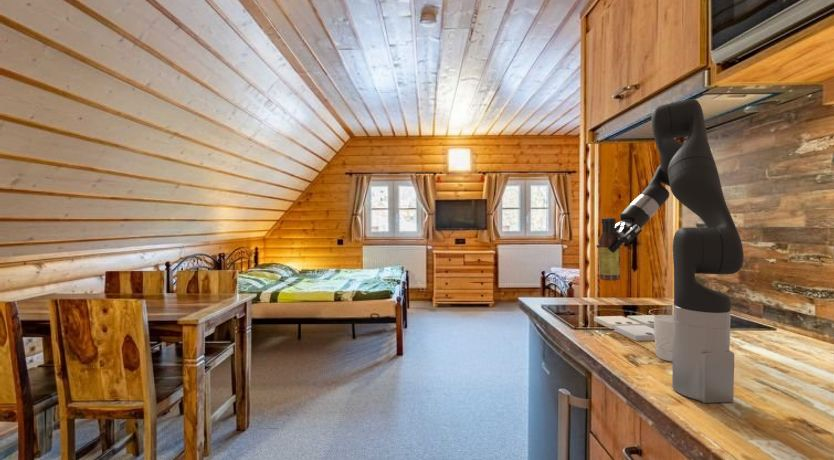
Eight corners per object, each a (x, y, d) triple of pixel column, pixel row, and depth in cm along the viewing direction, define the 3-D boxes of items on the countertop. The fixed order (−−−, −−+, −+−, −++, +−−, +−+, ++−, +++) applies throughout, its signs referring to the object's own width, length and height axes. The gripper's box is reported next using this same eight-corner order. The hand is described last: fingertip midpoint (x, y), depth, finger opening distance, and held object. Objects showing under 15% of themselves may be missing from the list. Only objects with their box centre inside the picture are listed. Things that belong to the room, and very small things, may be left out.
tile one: (667, 339, 113) (668, 333, 113) (635, 340, 113) (635, 334, 112) (644, 330, 123) (644, 324, 123) (614, 330, 122) (614, 325, 122)
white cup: (690, 356, 100) (690, 317, 99) (690, 366, 93) (691, 324, 93) (654, 350, 104) (654, 313, 104) (652, 359, 98) (652, 319, 97)
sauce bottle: (624, 281, 123) (624, 218, 122) (604, 281, 123) (604, 218, 122) (614, 277, 130) (614, 217, 129) (595, 278, 130) (595, 218, 129)
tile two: (640, 328, 125) (640, 322, 125) (610, 329, 124) (611, 323, 124) (621, 320, 135) (621, 315, 135) (593, 320, 134) (593, 316, 134)
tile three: (675, 327, 127) (675, 322, 126) (646, 328, 126) (646, 322, 126) (654, 319, 136) (654, 314, 136) (626, 320, 136) (627, 315, 135)
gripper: (618, 204, 133) (584, 239, 133) (647, 203, 119) (609, 243, 118) (632, 219, 134) (599, 255, 134) (663, 220, 120) (626, 260, 119)
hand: (604, 249), depth 126 cm, fingers closed on sauce bottle, 6 cm apart
